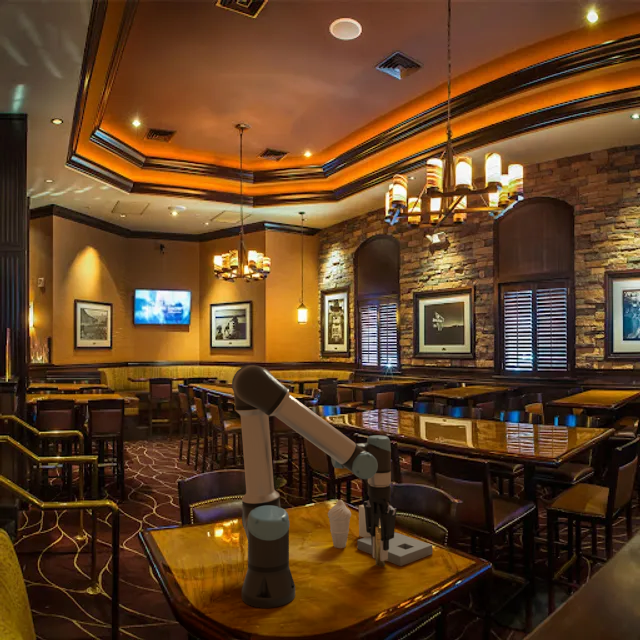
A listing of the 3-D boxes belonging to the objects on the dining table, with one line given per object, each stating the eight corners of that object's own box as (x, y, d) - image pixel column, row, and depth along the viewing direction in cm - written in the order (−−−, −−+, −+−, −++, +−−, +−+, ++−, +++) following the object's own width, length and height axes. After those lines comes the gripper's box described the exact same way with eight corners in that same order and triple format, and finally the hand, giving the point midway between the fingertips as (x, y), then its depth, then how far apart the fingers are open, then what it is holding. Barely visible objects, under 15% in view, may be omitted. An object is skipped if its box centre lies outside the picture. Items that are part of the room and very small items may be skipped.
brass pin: (380, 567, 171) (380, 528, 171) (373, 564, 173) (373, 526, 174) (387, 564, 173) (386, 526, 173) (380, 562, 175) (379, 524, 176)
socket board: (400, 566, 171) (400, 556, 172) (357, 548, 187) (357, 540, 187) (432, 553, 182) (432, 544, 182) (389, 538, 197) (389, 530, 197)
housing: (375, 541, 193) (375, 510, 194) (359, 535, 200) (358, 505, 201) (392, 536, 199) (391, 506, 200) (375, 530, 206) (375, 501, 206)
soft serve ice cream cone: (342, 552, 184) (342, 504, 185) (323, 547, 189) (322, 500, 190) (356, 545, 190) (355, 499, 191) (336, 540, 195) (336, 495, 196)
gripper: (405, 487, 171) (406, 562, 169) (370, 478, 183) (371, 548, 181) (389, 490, 166) (390, 568, 164) (354, 481, 178) (355, 554, 177)
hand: (380, 558), depth 173 cm, fingers closed on brass pin, 3 cm apart
